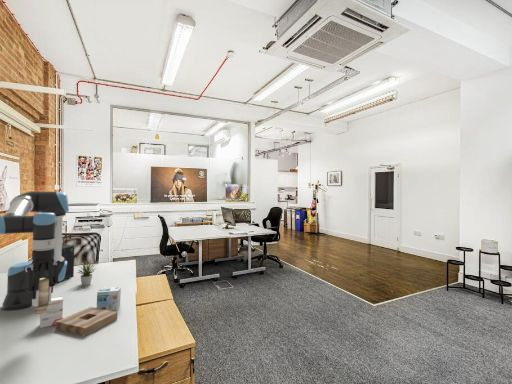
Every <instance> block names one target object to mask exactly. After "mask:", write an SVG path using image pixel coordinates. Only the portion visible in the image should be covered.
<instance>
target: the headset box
mask: <svg viewBox="0 0 512 384" xmlns="http://www.w3.org/2000/svg"><path fill="white" fill-rule="evenodd" d="M61 256H62V257H64V261H67V267H66V272H65V277H64V279H63V280H62V281H58V283H55V285H57V284H59V283H62V282H64V281H67V280H68V279H71V278H73V277H74V271H75V245H73V244H71V245H67V244H62V254H61Z"/></svg>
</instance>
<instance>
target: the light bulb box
mask: <svg viewBox="0 0 512 384" xmlns="http://www.w3.org/2000/svg"><path fill="white" fill-rule="evenodd" d="M121 295H122V287H121V286H116V287H114V286H113V287H101V288H100V289H99V290H98V291H97V293H96V308H99V309H104V310H110V311H115V312H117V311H118V310H119V309H120V307H121ZM116 310H117V311H116Z"/></svg>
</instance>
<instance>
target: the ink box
mask: <svg viewBox="0 0 512 384" xmlns="http://www.w3.org/2000/svg"><path fill="white" fill-rule="evenodd" d="M63 316H64V297H63V296H59V297H51V302H48V307H47V312H45V313H43V314H39V328H40V329H41V328H46V327H47V328H48V327H51V326H56V321H58V320H61V319H63V318H64V317H63Z"/></svg>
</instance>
